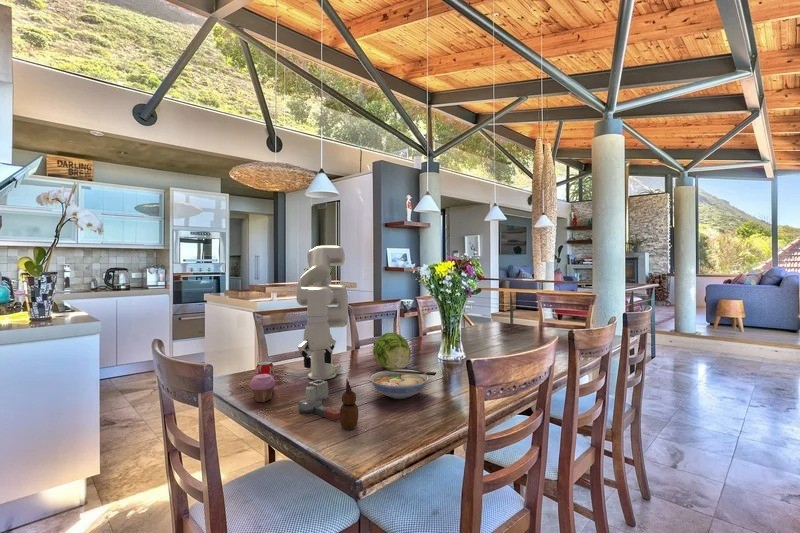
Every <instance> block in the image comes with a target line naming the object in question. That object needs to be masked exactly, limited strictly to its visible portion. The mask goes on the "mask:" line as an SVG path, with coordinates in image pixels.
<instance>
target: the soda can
mask: <svg viewBox="0 0 800 533" xmlns="http://www.w3.org/2000/svg"><path fill="white" fill-rule="evenodd" d="M260 374H269V375H270V376H272V377H273V378H274V379H275V365H274V364H273V361H272V360H262V361H258V362H257V364H256V366H255V376H256V375H260ZM274 390H275V386H274V387H273V390H272V392H274Z"/></svg>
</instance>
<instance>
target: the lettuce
mask: <svg viewBox="0 0 800 533" xmlns="http://www.w3.org/2000/svg"><path fill="white" fill-rule="evenodd" d="M373 355H374V358H375V360H376V362H377V363H378V364H379V365H380V366H381V367H382V368H383V369H384V370H404V369H405V368H406V367H407V365H408V364H409V362H410V360H411V355H412V350H411V348H410V344H409V343H408V341H407V339H406V338H405V337H403V336H402V335H400V334H397V333H395V332H386V333H383V334H381V335H380V336H379V337H378V338H377V339H376V340H375V343H374V345H373Z"/></svg>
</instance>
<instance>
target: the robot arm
mask: <svg viewBox="0 0 800 533" xmlns="http://www.w3.org/2000/svg"><path fill="white" fill-rule="evenodd" d="M345 256H346V255H345V250H344V248H343V247H342V246H341V245H318V246H317V245H316V246H315V247H314V248H312V249H309V250H308V252H307V264H308V268H309V269H308V270H306V271H305V272H304V273H303V274H302V275H301V276H300V278H299V280H298V282H297V285H296V295H295V296H296V302H297V304H298V305H299V306H303V307H304V306H305V307H306V308H307V309H306V310H307V311H306V312H307V314H306V315H307V321H306V324H305V327H304V331H303V341H302V343H300V344H299V345H298V346H297V348H298V351H299V353H300V355H301V356H302V357H303V367H304V368H306V369H311V372H309V373H308V374H307V378H308V379H310V380H313V381H316V380H323V381H327V380H329V379H334V378H336V377H337V372H335V371H336V370H339V369H341V368H342V367H341V364H333V363H334V361H333V360H334V359H333V355H334V353H333V350H334V349H335V346H336V343H337V340H335V339H333V336H332V334H331V331H330V330H331V329H332V328H335V329H336V328H345V327H346V326H347V325H348V322H349V305H348V304H349V303H348V302H349V301H348V300H349V299H348V290H347V288H346V287H345V286H344V285H343V284H332V275H331V274H330V273H331V267H333V266H334V267H338V266H339V267H341V266H343V265H344V263H345V261H346V260H345V258H346V257H345ZM330 328H331V329H330Z"/></svg>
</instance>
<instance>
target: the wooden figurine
mask: <svg viewBox="0 0 800 533" xmlns="http://www.w3.org/2000/svg"><path fill="white" fill-rule="evenodd" d="M345 382H346V384H345V391H343V393H342V394H341V402H342V404H341V406H340V409H339V411H340V420H339V421H340V425H341V428H342V429H344V430H346V431H349V430H354V429H355V428H356V427H357V425H358V422H359V408H358V405H357V403H356V401H357V394H356V392H355V391H354V390H353V389H352V388H351V384H350V381H349V380H348V378H346V381H345Z"/></svg>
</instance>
